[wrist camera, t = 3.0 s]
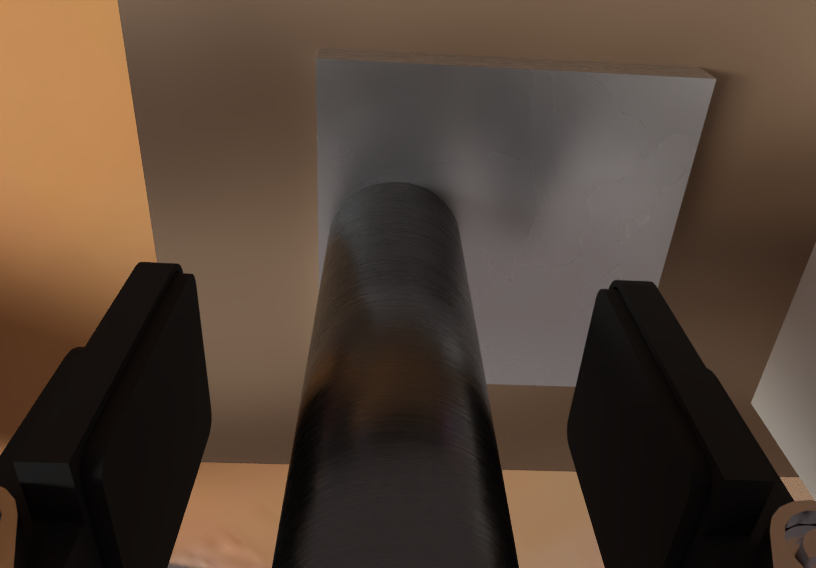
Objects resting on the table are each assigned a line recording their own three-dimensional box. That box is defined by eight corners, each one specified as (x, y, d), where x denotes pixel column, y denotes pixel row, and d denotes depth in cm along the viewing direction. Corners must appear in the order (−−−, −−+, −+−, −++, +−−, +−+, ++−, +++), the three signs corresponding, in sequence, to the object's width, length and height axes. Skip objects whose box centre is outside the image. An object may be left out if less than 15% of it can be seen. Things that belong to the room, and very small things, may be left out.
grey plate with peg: (619, 366, 17) (902, 1004, 7) (322, 357, 16) (231, 1008, 7) (699, 67, 13) (1453, 584, 4) (320, 47, 13) (125, 558, 3)
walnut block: (933, 268, 29) (1222, 488, 19) (261, 242, 28) (187, 461, 18) (1129, -115, 22) (1762, -89, 12) (237, -172, 21) (86, -201, 11)
